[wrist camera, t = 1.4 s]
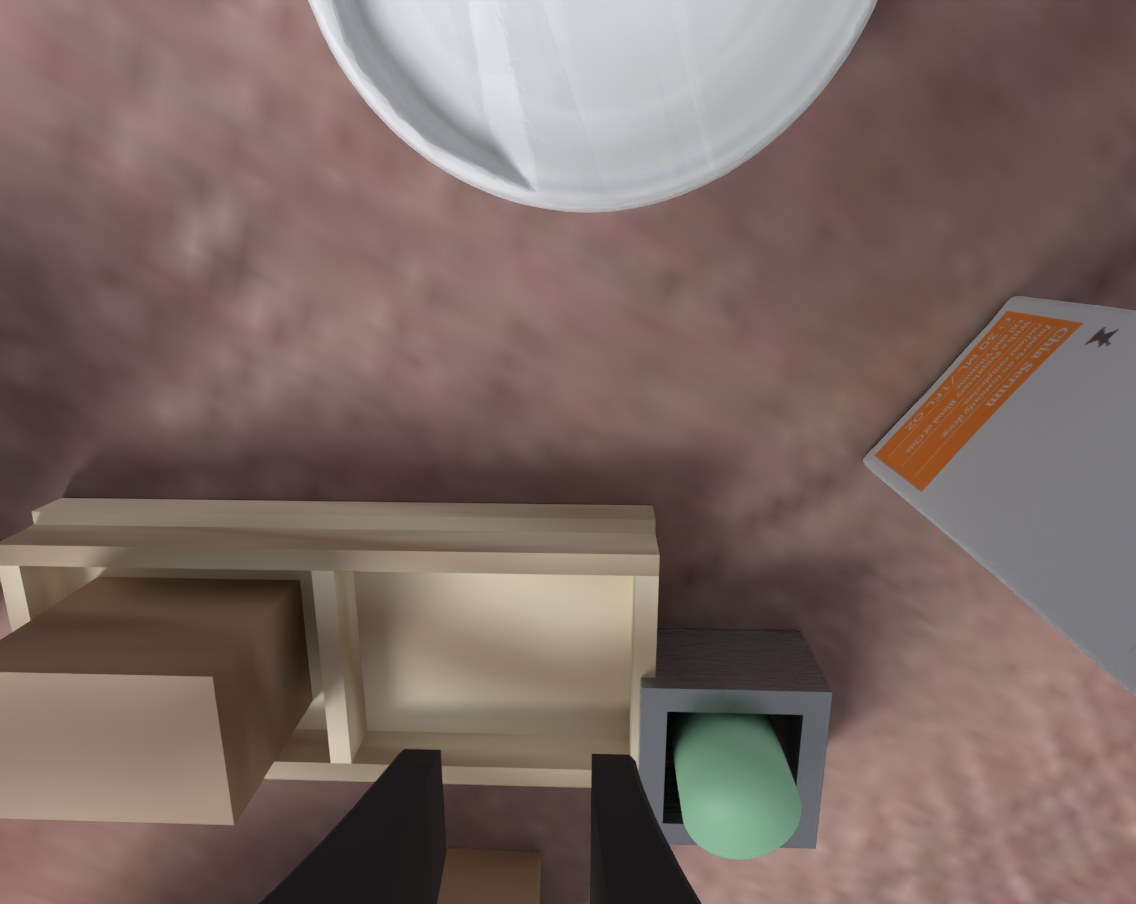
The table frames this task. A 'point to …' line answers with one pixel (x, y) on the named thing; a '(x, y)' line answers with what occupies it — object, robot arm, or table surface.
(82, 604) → the seated walnut billet
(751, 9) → the ramekin
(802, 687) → the button housing
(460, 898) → the block
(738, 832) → the button
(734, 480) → the table surface
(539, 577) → the wooden divided tray
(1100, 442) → the skincare box
